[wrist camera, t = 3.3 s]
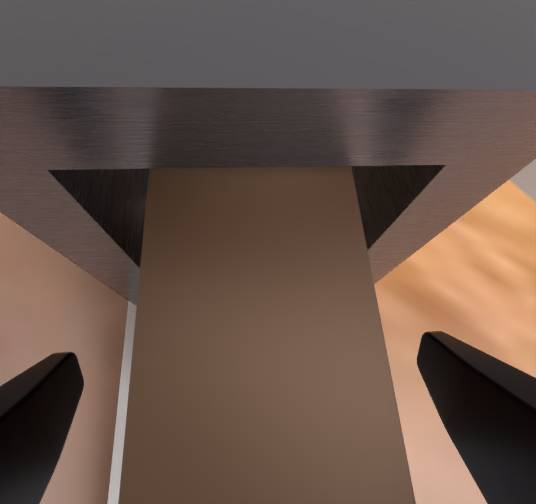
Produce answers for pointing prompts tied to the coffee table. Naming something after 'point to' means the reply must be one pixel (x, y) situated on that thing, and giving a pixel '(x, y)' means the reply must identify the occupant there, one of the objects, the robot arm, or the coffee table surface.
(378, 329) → the walnut bar
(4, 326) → the coffee table surface
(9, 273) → the coffee table surface
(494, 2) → the tunnel
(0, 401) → the robot arm
